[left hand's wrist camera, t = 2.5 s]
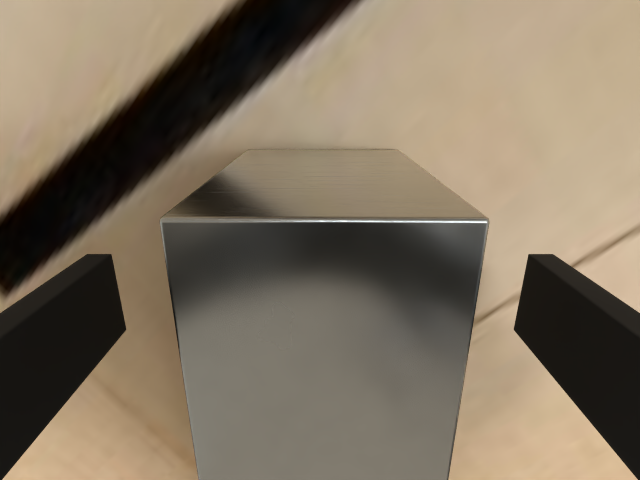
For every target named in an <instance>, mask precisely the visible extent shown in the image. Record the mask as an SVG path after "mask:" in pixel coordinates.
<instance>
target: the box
mask: <svg viewBox="0 0 640 480" xmlns="http://www.w3.org/2000/svg"><path fill="white" fill-rule="evenodd" d="M488 227H489V219H488V218H487V217H486V216H485V215H483V214H482V213H481V212H479V211H478V210H477V209H475V208H474V207H473V206H471V205H470V204H469V203H468V202H466V201H465V200H464V199H462V198H461V197H460V196H458V195H457V194H456V193H454V192H453V191H452V190H450V189H449V188H448V187H446V186H445V185H444V184H443V183H441V182H440V181H439V180H437V179H436V178H435V177H433V176H432V175H431V174H429V173H428V172H427V171H425V170H424V169H423V168H421V167H420V166H419V165H418V164H416V163H415V162H414V161H412V160H411V159H410V158H408V157H407V156H406V155H404V154H403V153H402V152H400V151H399V150H247V151H245V152H244V153H243V154H242V155H240V156H239V157H238V158H236V159H235V160H234V161H233V162H231V163H230V164H229V165H227V166H226V167H225V168H224V169H222V170H221V171H220V172H219V173H217V174H216V175H215V176H213V177H212V178H211V179H210V180H208V181H207V182H206V183H204V184H203V185H202V186H201V187H199V188H198V189H197V190H196V191H194V192H193V193H192V194H190V195H189V196H188V197H187V198H185V199H184V200H183V201H181V202H180V203H179V204H178V205H176V206H175V207H174V208H173V209H171V210H170V211H169V212H167V213H166V214H165V215H164V216H162V217H161V218H160V228H161V235H162V241H163V248H164V254H165V261H166V267H167V274H168V281H169V287H170V294H171V300H172V307H173V314H174V320H175V327H176V333H177V340H178V347H179V353H180V360H181V366H182V373H183V380H184V386H185V393H186V399H187V406H188V413H189V419H190V426H191V432H192V439H193V446H194V452H195V459H196V465H197V472H198V479H199V480H448V477H449V471H450V465H451V459H452V452H453V446H454V440H455V434H456V427H457V421H458V415H459V408H460V402H461V396H462V390H463V383H464V377H465V371H466V365H467V358H468V352H469V346H470V340H471V333H472V327H473V321H474V315H475V308H476V302H477V296H478V290H479V283H480V277H481V271H482V265H483V258H484V252H485V246H486V240H487V233H488Z"/></svg>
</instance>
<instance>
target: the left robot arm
mask: <svg viewBox="0 0 640 480" xmlns="http://www.w3.org/2000/svg"><path fill="white" fill-rule="evenodd" d="M125 331H126V326H125V321H124V316H123V311H122V306H121V301H120V295H119V290H118V285H117V280H116V275H115V270H114V265H113V260H112V255H111V254H87V255H85V256H84V257H82V258H81V259H79V260H78V261H76V262H75V263H73V264H72V265H70V266H69V267H68V268H66V269H65V270H63V271H62V272H60V273H59V274H57V275H56V276H54V277H53V278H51V279H50V280H48V281H47V282H45V283H44V284H43V285H41V286H40V287H38V288H37V289H35V290H34V291H32V292H31V293H29V294H28V295H26V296H25V297H23V298H22V299H20V300H19V301H18V302H16V303H15V304H13V305H12V306H10V307H9V308H7V309H6V310H4V311H3V312H1V313H0V480H2V479H3V478H4V477H5V475H6V474H7V473H8V472H9V471H10V469H11V468H12V467H13V466H14V465H15V463H16V462H17V461H18V460H19V458H20V457H21V456H22V455H23V454H24V452H25V451H26V450H27V449H28V448H29V446H30V445H31V444H32V443H33V442H34V440H35V439H36V438H37V437H38V436H39V434H40V433H41V432H42V431H43V430H44V428H45V427H46V426H47V425H48V423H49V422H50V421H51V420H52V419H53V417H54V416H55V415H56V414H57V413H58V411H59V410H60V409H61V408H62V407H63V405H64V404H65V403H66V402H67V401H68V399H69V398H70V397H71V396H72V395H73V393H74V392H75V391H76V390H77V388H78V387H79V386H80V385H81V384H82V382H83V381H84V380H85V379H86V378H87V376H88V375H89V374H90V373H91V372H92V370H93V369H94V368H95V367H96V366H97V364H98V363H99V362H100V361H101V360H102V358H103V357H104V356H105V355H106V353H107V352H108V351H109V350H110V349H111V347H112V346H113V345H114V344H115V343H116V341H117V340H118V339H119V338H120V337H121V335H122V334H123V333H124V332H125ZM514 331H515V332H516V333H517V334H518V335H519V337H520V338H521V339H522V340H523V341H524V343H525V344H526V345H527V346H528V347H529V349H530V350H531V351H532V352H533V353H534V355H535V356H536V357H537V358H538V360H539V361H540V362H541V363H542V364H543V366H544V367H545V368H546V369H547V370H548V372H549V373H550V374H551V375H552V376H553V378H554V379H555V380H556V381H557V382H558V384H559V385H560V386H561V387H562V388H563V390H564V391H565V392H566V393H567V395H568V396H569V397H570V398H571V399H572V401H573V402H574V403H575V404H576V405H577V407H578V408H579V409H580V410H581V411H582V413H583V414H584V415H585V416H586V417H587V419H588V420H589V421H590V422H591V423H592V425H593V426H594V427H595V428H596V430H597V431H598V432H599V433H600V434H601V436H602V437H603V438H604V439H605V440H606V442H607V443H608V444H609V445H610V446H611V448H612V449H613V450H614V451H615V452H616V454H617V455H618V456H619V457H620V458H621V460H622V461H623V462H624V463H625V465H626V466H627V467H628V468H629V469H630V471H631V472H632V473H633V474H634V475H635V477H636V478H637V479H638V480H640V313H639V312H637V311H636V310H634V309H633V308H631V307H630V306H628V305H627V304H625V303H624V302H622V301H621V300H620V299H618V298H617V297H615V296H614V295H612V294H611V293H609V292H608V291H606V290H605V289H603V288H602V287H600V286H599V285H597V284H596V283H595V282H593V281H592V280H590V279H589V278H587V277H586V276H584V275H583V274H581V273H580V272H578V271H577V270H575V269H574V268H572V267H571V266H570V265H568V264H567V263H565V262H564V261H562V260H561V259H559V258H558V257H556V256H555V255H553V254H529V255H528V260H527V265H526V270H525V275H524V280H523V285H522V290H521V295H520V301H519V306H518V311H517V316H516V321H515V326H514Z"/></svg>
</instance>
